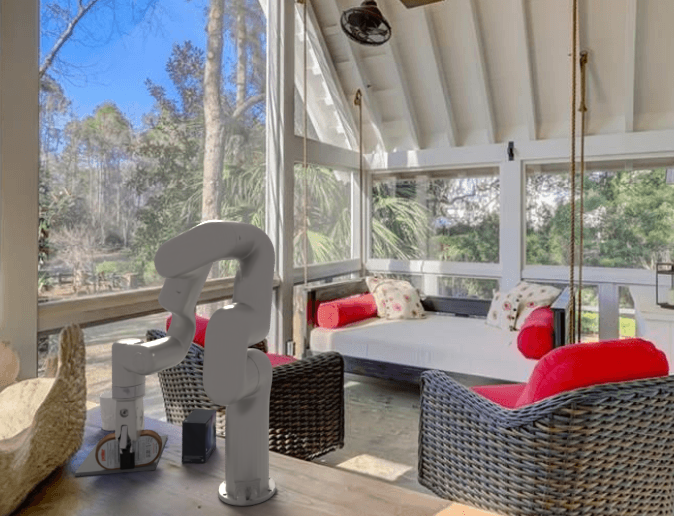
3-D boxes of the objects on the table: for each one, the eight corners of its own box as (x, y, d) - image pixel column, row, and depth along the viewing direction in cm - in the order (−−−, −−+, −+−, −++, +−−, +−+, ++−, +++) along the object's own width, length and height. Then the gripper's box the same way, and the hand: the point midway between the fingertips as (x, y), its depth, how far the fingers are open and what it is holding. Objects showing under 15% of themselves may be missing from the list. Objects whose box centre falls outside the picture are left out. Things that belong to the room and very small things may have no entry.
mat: (155, 469, 119) (155, 466, 119) (75, 476, 116) (75, 472, 116) (167, 438, 139) (167, 435, 139) (99, 442, 135) (99, 439, 135)
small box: (206, 463, 123) (206, 422, 122) (180, 463, 123) (180, 422, 122) (217, 446, 133) (217, 408, 133) (194, 446, 133) (193, 408, 133)
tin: (162, 459, 123) (162, 426, 123) (162, 464, 120) (162, 430, 120) (95, 469, 118) (95, 434, 118) (94, 474, 115) (94, 438, 115)
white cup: (111, 433, 142) (110, 399, 142) (94, 428, 146) (93, 395, 146) (134, 425, 149) (134, 392, 149) (117, 420, 153) (117, 388, 153)
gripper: (138, 400, 111) (138, 479, 112) (151, 380, 127) (151, 450, 128) (102, 401, 110) (103, 482, 110) (120, 381, 126) (121, 452, 126)
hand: (129, 464), depth 119 cm, fingers closed on tin, 3 cm apart
